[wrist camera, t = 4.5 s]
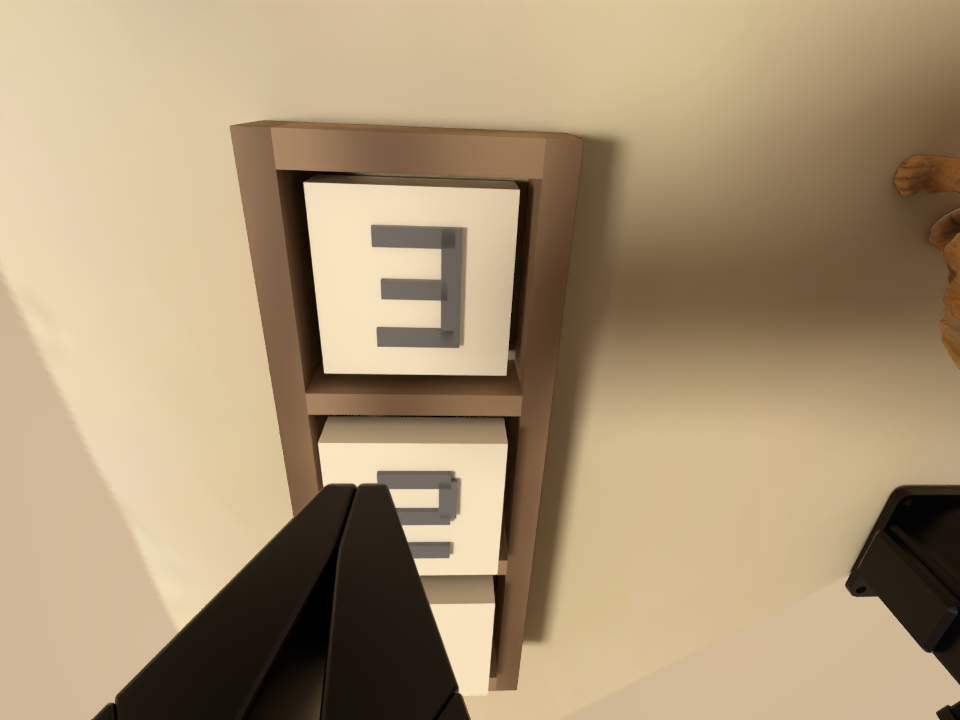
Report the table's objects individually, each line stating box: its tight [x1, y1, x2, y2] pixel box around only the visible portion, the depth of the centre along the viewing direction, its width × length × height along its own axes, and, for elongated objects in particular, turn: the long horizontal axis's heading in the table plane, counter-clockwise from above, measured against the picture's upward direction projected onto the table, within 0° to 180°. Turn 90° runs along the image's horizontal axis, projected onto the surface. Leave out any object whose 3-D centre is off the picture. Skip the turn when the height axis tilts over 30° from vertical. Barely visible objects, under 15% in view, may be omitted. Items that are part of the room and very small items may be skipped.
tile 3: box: [303, 174, 520, 376], centre depth 16 cm, size 6×6×2 cm
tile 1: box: [420, 575, 495, 696], centre depth 22 cm, size 6×6×2 cm
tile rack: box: [230, 121, 584, 691], centre depth 20 cm, size 9×24×2 cm, turn 178°
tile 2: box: [318, 416, 508, 575], centre depth 19 cm, size 6×6×2 cm
